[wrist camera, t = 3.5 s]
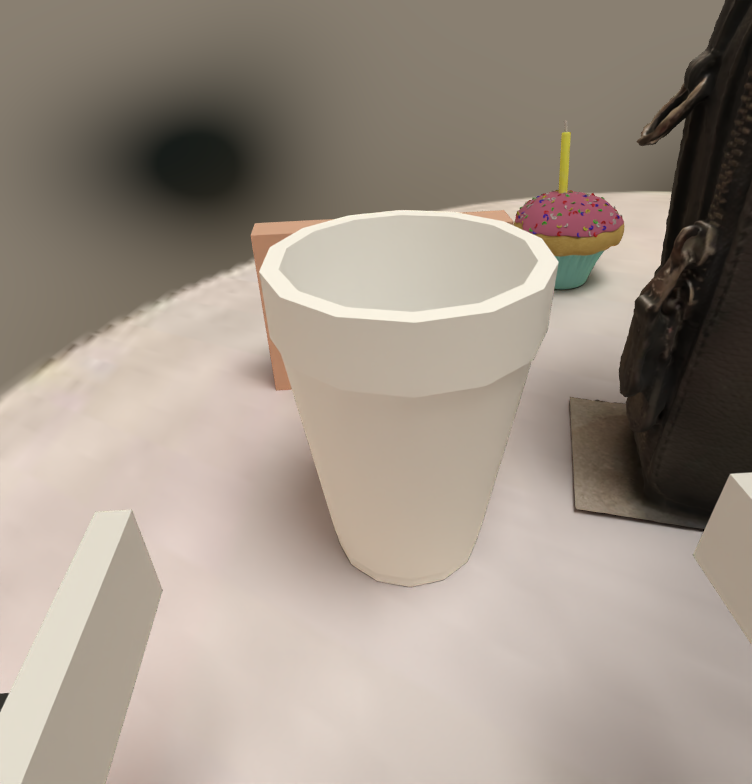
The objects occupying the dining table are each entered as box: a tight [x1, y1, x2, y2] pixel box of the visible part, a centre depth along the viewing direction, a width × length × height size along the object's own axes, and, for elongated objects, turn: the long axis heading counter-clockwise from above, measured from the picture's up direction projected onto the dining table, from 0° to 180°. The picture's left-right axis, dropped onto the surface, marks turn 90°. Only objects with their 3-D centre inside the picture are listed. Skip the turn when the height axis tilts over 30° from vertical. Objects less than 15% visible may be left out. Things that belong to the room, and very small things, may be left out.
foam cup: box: [259, 210, 559, 587], centre depth 22 cm, size 10×9×13 cm
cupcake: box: [513, 120, 624, 289], centre depth 44 cm, size 9×8×12 cm
